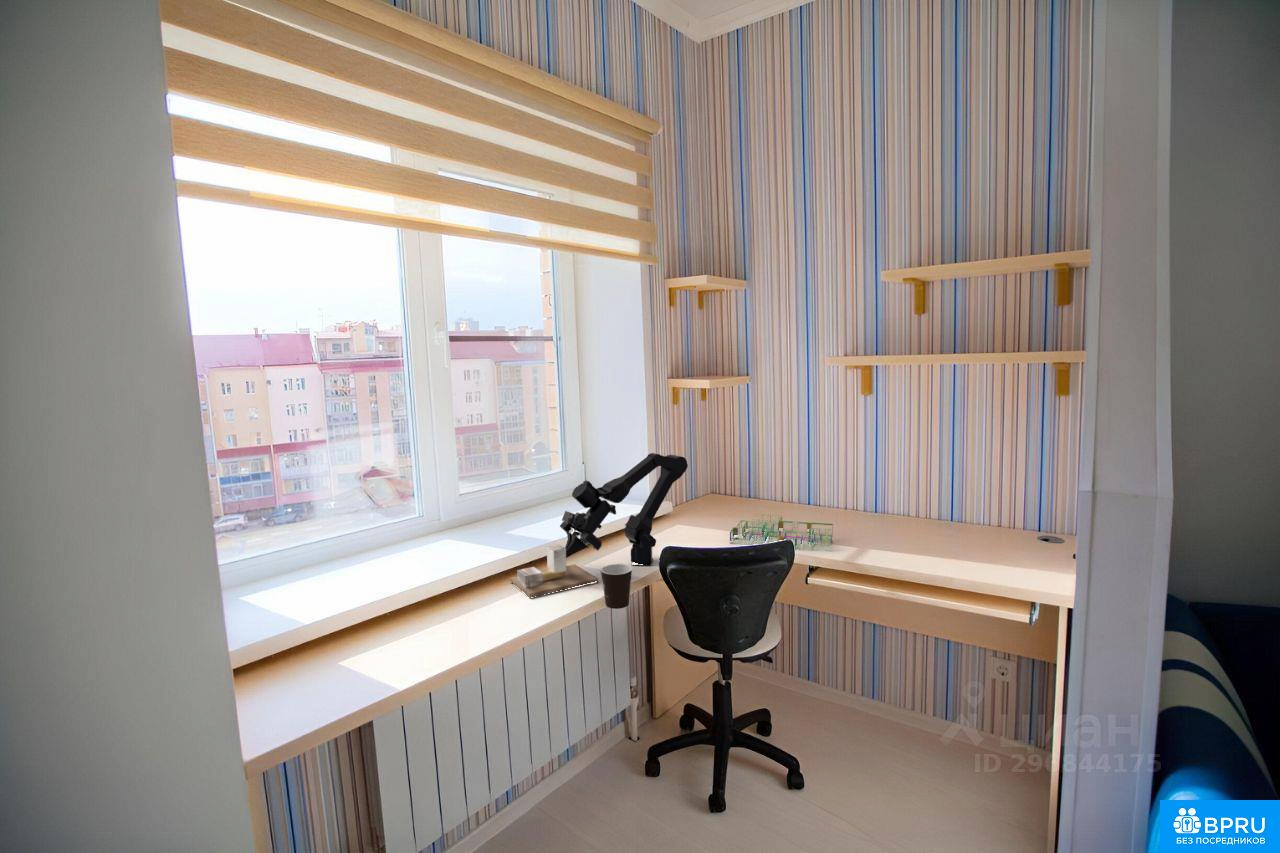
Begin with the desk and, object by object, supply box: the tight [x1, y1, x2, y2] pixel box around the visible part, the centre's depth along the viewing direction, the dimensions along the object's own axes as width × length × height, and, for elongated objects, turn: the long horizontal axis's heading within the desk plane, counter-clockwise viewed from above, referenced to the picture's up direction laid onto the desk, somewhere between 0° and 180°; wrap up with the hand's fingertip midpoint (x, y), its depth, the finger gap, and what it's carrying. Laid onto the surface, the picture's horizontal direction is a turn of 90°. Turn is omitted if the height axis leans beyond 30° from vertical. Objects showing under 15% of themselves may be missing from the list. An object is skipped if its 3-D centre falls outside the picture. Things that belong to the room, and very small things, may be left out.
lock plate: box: [509, 563, 599, 599], centre depth 193 cm, size 22×16×5 cm
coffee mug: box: [600, 563, 633, 610], centre depth 176 cm, size 12×9×10 cm
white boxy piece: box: [541, 544, 567, 581], centre depth 192 cm, size 9×5×9 cm, turn 122°
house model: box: [729, 513, 834, 547], centre depth 237 cm, size 35×30×5 cm
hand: (563, 557), depth 194 cm, fingers closed, pressing on white boxy piece
